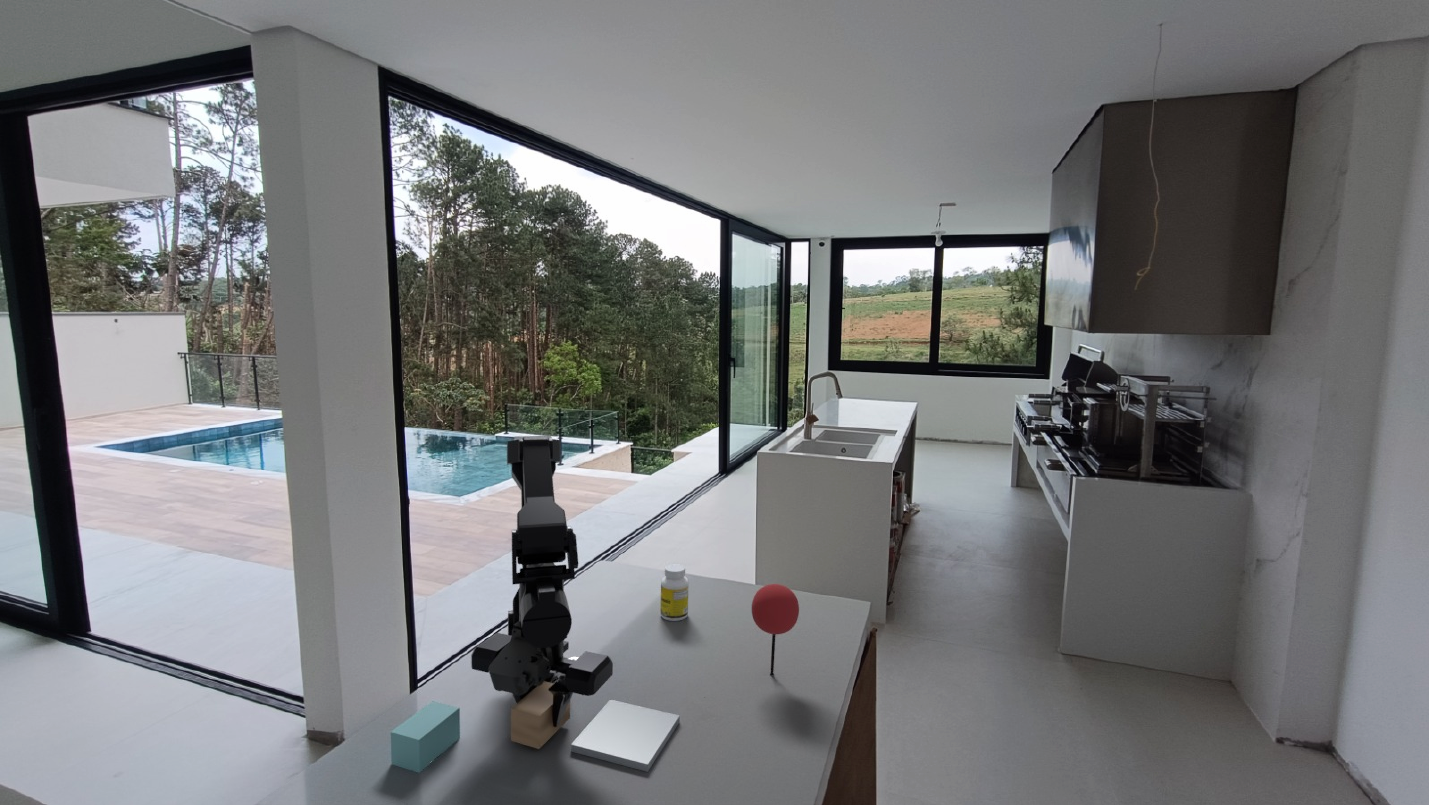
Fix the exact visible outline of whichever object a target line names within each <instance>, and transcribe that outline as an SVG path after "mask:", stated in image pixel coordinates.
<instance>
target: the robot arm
mask: <svg viewBox="0 0 1429 805" xmlns="http://www.w3.org/2000/svg"><path fill="white" fill-rule="evenodd" d="M513 439H514V440H507V441H506V465H509V466H511V468H510V469H511V470H510V471H511V473H510V474H511V478H512V479H513V481H514V483H515V484H516V485H517V487H518V488H519V490H520V497H521V498H520V499H521V500H520V501H521V504H520V505H521V508H520V509H519V510H518V512H517V513H516V529H511V575H512V578H511V579H512V582H511V583H512V585H519V588H518V589H517V591H516V593H515V595H514V597H513V599H512V610H508V611H507V634H505V633H501V632H496V633H494V634H492V636H490V637H489V638H487V639H485V640H484V641H482V642H481V643H479V644H478V645H477V646H475V648H473V651H472V653H471V657H470V658H471V660H470V661H471V662H470V664H471V667H470V668H471V670H474V671H479V672H483V673H488V674H489V676H490V680H491V683H492V685H493V689H494V690H495V691H497V692H506V693H509V694H511V695H512V696H513V698H514V700H515V704H517V703H518V702H519V701H520V700H522V699H523V698H524V697H525V696H526V695H528V694H529V693H530V692H531V691H532V690H534V689H535V688H536V687H537V686H540V685H542V683H543V682H544V681H545V682H549V683H553V682H554V681H555V680H556V679H557V680H556V681H555V682H554V683H553V685H552V686H551V687H550V688H549V689H548V690H549V691H550V692H551V693H552V694H553V726H554V727H557V726H558V725H559V724H560V722H561V720H562V718H563V715H564V713H565V711H566V708H567V706H568V704H569V701H570V702H571V699H572V696H573V694H578V695H582V696H587V697H590V696H593V695H595V694H596V693H597V692H598V691H599V690H600V689H601V688H602V686H604V684H605V683H606V682H607V681H608V680H609V679H610V678H611V677H612V676H613V674H614V672H613V670H614V669H613V667H614V666H613V664H614V663H613V660H612V659H611V657H610V656H609V655H605V654H601V653H598V652H597V653H596V652H591V651H584V652H583V653H582V654H581V655H580V656H578V657H576V656H570V657H568V658H567V657H564V653H565V652H566V651H568V650H569V648H570V647H569V643H570V642H569V641H566V639H567V638H568V635H569V634H570V632H571V628H572V624H573V623H572V622H573V621H572V620H573V619H572V616H571V611H570V607H569V602H568V598H567V595H566V592H565V581H567V580H575V578H576V576H575V575H576V574H575V569H578V568H579V555H578V553H579V552H578V544H577V535H576V534H575V532H574V529H573V528H572V526H571V525H568V524H567V519H566V518H567V517H566V511H565V509H564V508H563V507H561V506H560V505H559V504H558V503H556V501H555V500H556V499H555V493H554V492H555V491H554V479H553V477H554V475H555V472H556V469H557V465H556V464H559V463H561V440H560V439H555V438H553V437H552V435H525V436H523V435H519V436H516V435H515V436H514V438H513ZM566 556H567V557H566ZM566 558H567V565H566V564H557V565H556V564H555V563H563V562H564V561H565V560H566ZM517 564H518V565H521V567H520V568H519V572H518V568H517V566H518V565H517ZM567 567H568V568H567Z"/></svg>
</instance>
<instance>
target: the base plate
mask: <svg viewBox="0 0 1429 805" xmlns="http://www.w3.org/2000/svg"><path fill="white" fill-rule="evenodd" d="M680 717H681V716H680V715H679V714H674V713H671V712H670V713H669V712H666V711H663V710H657V709H653V708H649V707H644V706H639V705H636V704H632V703H628V702H627V703H626V702H623V701H619V700H614V699H609V700H608V701H607V703H606V704H605V705H604V706H602V708H601V709H600V711H599V712H598V713H597V714H596V715H595V716H594V718H592V720H591V721H590V722H589V723H588V724H587V726H586V727H585V728H584V729H583V730H582V731H581V732H580V733H579V735H578V736H577V737H576V738H575V739H574V740H573V741H572V742H571V743H570V752H571V753H575V754H579V755H584V756H586V757H590V758H594V759H599V760H601V761H606V762H610V763H612V764H616V765H620V766H624V767H628V768H632V769H635V770H639V771H643V772H647V773H648V772H649V771H650V769H651V768H652V767H653V764H654V763H655V761H656V759H657V758H658V757H659V755H660V753H661V752H662V750H663V749H664V748H665V746H666V744H667V742H668V741H669V740H670V738H671V736H672V735H673V734H674V732H675V729H676V728H677V727H678V726H679V724H680V719H681V718H680Z"/></svg>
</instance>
